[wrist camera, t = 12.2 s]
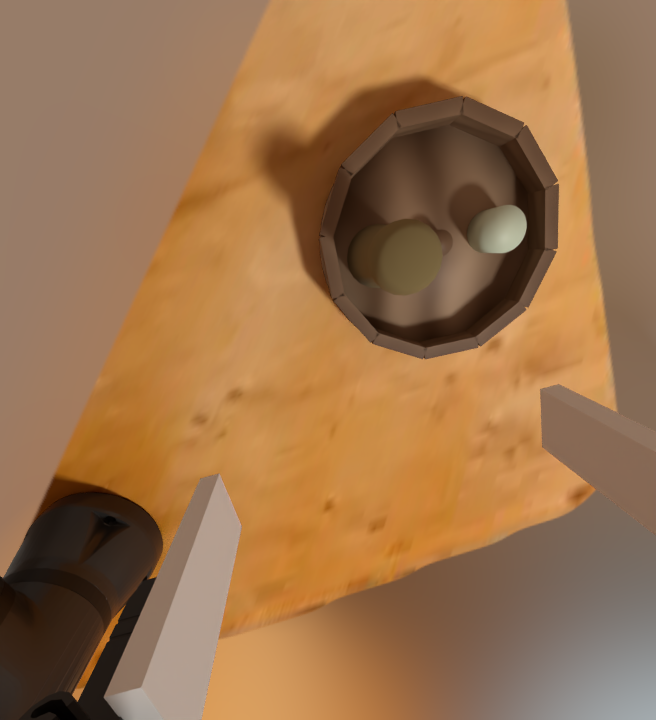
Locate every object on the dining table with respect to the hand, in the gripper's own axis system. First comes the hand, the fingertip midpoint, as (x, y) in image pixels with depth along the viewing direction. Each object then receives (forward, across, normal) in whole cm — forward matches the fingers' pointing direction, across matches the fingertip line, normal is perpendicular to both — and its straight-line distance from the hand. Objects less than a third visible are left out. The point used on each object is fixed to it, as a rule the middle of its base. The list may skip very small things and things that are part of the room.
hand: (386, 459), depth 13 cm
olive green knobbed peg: (+22, +6, +6) cm, 24 cm away
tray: (+23, +12, +6) cm, 26 cm away
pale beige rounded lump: (+22, +17, +6) cm, 28 cm away
